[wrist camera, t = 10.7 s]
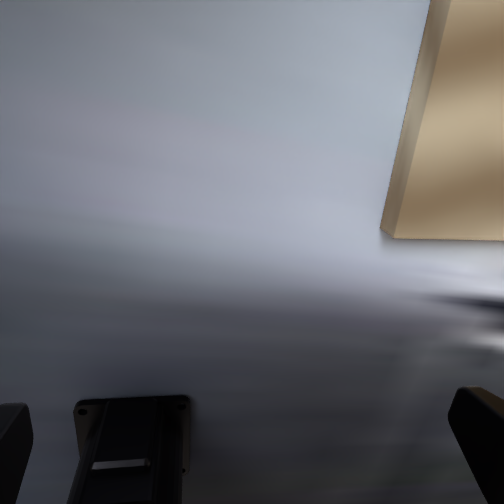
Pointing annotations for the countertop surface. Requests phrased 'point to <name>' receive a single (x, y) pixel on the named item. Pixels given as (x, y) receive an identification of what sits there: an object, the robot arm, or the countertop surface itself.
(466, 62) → the post board
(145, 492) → the robot arm
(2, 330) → the countertop surface
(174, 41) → the countertop surface
